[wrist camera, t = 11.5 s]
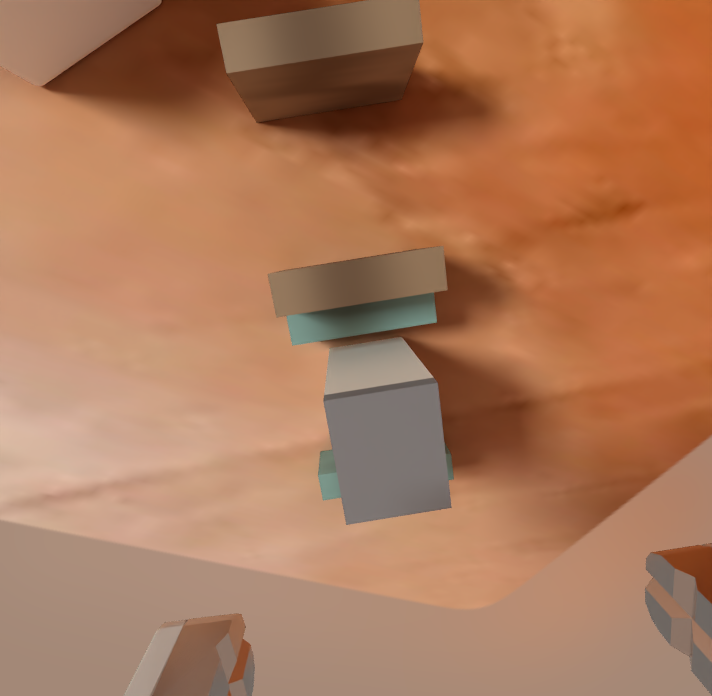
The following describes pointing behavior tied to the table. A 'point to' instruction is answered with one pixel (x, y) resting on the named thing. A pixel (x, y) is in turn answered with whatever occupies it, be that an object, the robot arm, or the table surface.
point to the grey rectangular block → (385, 431)
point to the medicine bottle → (60, 32)
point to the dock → (327, 93)
